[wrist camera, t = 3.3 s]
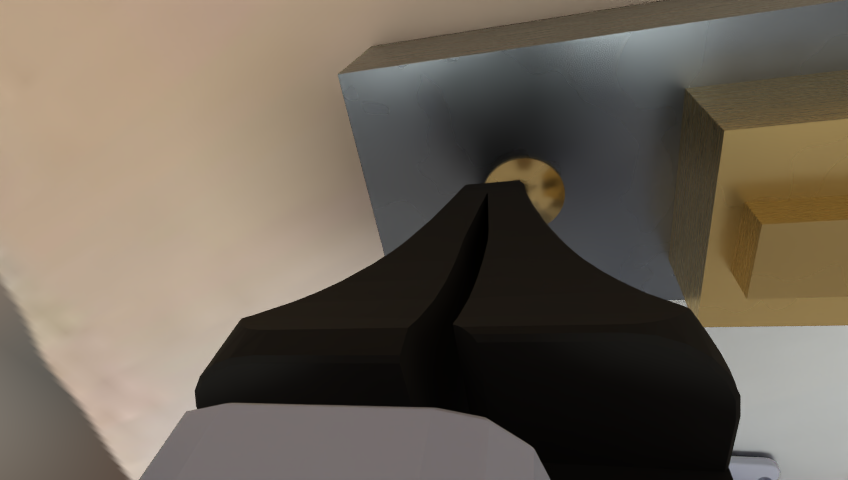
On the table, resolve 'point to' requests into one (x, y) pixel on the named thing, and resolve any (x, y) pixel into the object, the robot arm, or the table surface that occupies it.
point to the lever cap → (764, 202)
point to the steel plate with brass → (571, 115)
